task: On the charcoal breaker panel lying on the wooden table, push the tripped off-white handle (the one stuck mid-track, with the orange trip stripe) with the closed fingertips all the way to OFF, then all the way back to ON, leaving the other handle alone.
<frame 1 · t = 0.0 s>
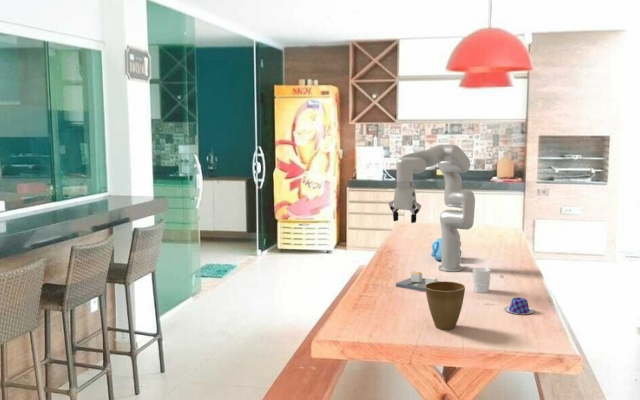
hand: (404, 221, 297), 31 cm above the table, fingers open, 9 cm apart
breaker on: (431, 282, 292), point 4 cm above the table, slide at 10.0 cm
purple patterned hat: (519, 311, 260), on the table
breaker tripped: (416, 276, 303), point 4 cm above the table, slide at 5.0 cm
white cup: (481, 291, 291), on the table
breaker panel: (426, 286, 300), on the table
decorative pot: (446, 260, 357), on the table
plant pot: (444, 327, 241), on the table
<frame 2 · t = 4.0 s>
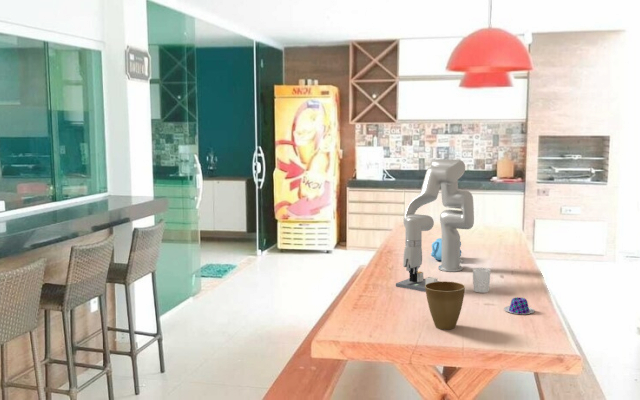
hand: (413, 281, 301), 2 cm above the table, fingers closed
breaker tripped: (417, 276, 303), point 4 cm above the table, slide at 4.0 cm, touching gripper
everything else where it was.
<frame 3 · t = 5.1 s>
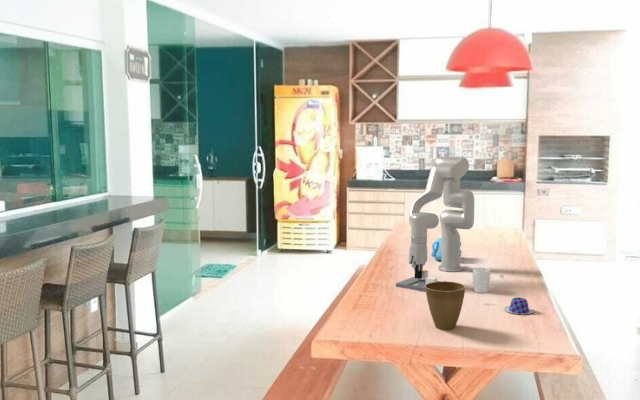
hand: (418, 278, 304), 3 cm above the table, fingers closed
breaker tripped: (422, 274, 307), point 4 cm above the table, slide at -0.3 cm, touching gripper
everything else where it was.
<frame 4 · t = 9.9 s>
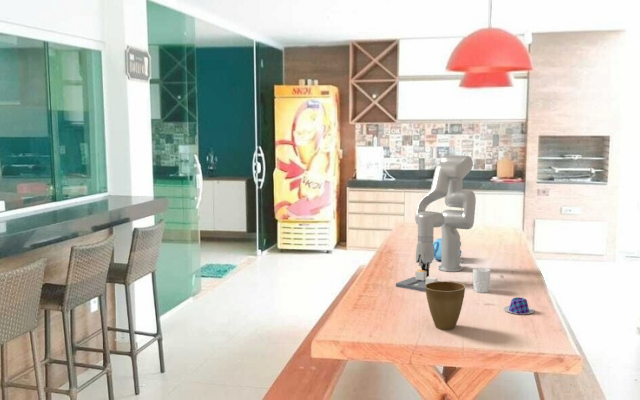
hand: (425, 276, 309), 3 cm above the table, fingers closed
breaker tripped: (421, 274, 306), point 4 cm above the table, slide at 0.8 cm, touching gripper
everything else where it was.
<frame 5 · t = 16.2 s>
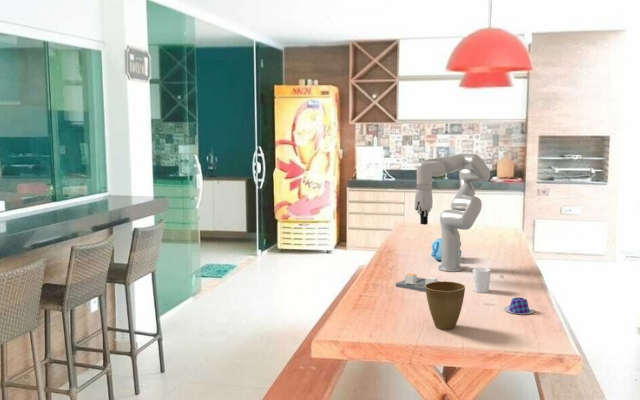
hand: (424, 224, 314), 27 cm above the table, fingers closed
breaker tripped: (410, 278, 299), point 4 cm above the table, slide at 10.1 cm
at the end: breaker tripped slide at 10.1 cm; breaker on slide at 10.0 cm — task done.
